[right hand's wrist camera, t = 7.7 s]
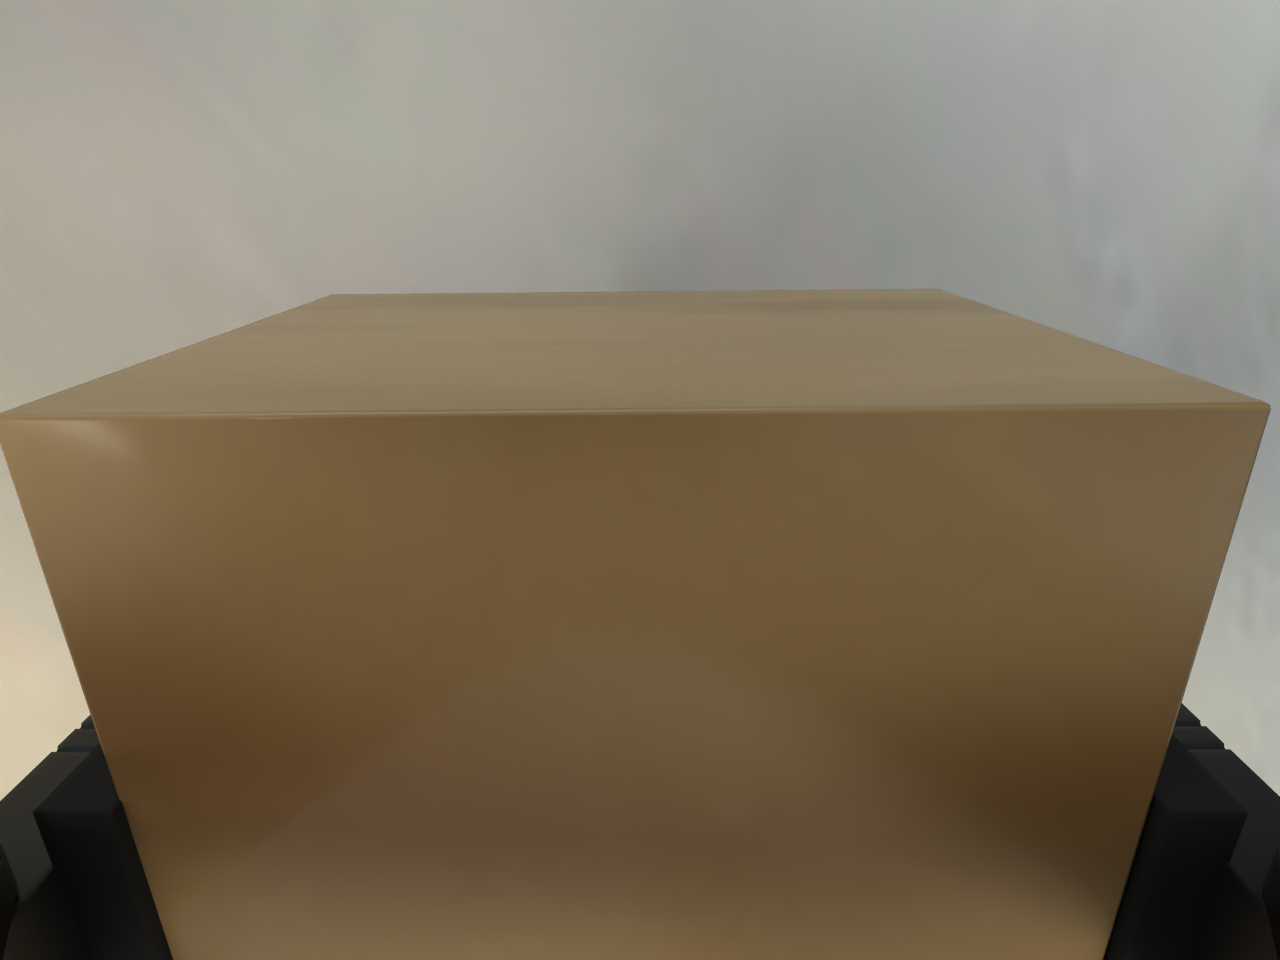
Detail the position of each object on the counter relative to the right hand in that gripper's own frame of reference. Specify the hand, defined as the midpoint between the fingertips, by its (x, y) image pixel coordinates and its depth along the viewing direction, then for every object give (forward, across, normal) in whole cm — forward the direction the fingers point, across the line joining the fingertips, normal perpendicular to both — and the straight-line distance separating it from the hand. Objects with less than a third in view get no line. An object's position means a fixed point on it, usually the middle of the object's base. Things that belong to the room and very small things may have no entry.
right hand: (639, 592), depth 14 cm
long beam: (+1, 0, -36) cm, 36 cm away
